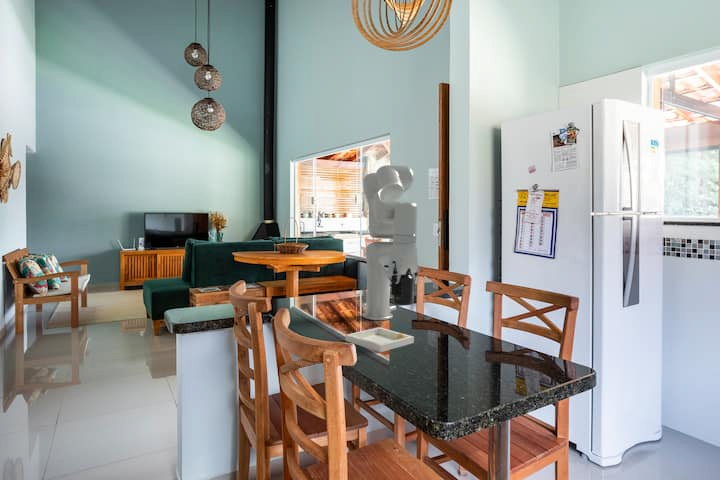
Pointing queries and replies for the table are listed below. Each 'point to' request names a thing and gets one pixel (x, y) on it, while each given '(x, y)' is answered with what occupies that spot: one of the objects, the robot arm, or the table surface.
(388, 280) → the robot arm
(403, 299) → the supplement bottle
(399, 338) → the ball
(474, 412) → the table surface
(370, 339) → the tray
